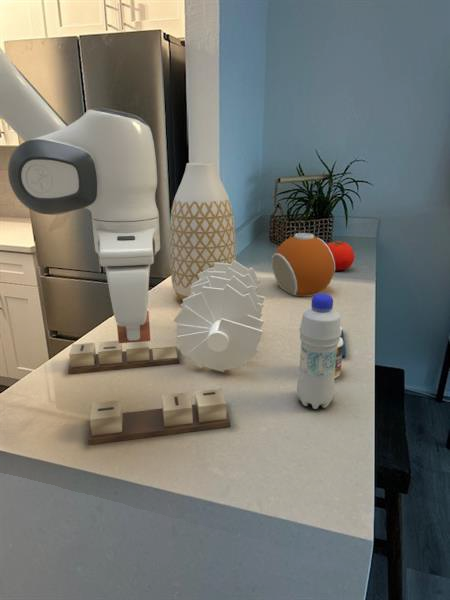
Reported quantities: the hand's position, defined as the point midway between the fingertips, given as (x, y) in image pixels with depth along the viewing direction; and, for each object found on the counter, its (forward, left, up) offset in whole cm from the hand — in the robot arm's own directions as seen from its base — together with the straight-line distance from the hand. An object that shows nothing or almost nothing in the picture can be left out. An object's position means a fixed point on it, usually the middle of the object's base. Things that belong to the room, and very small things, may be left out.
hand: (133, 330), depth 64 cm
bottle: (+30, +1, -17) cm, 35 cm away
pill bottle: (+36, +10, -17) cm, 41 cm away
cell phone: (+42, +22, -17) cm, 51 cm away
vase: (+19, +58, -17) cm, 63 cm away
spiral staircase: (+18, +24, -17) cm, 35 cm away
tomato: (+70, +79, -17) cm, 107 cm away
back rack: (-3, +23, -17) cm, 29 cm away
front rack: (+3, 0, -17) cm, 17 cm away
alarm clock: (+50, +60, -17) cm, 80 cm away
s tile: (0, 0, -1) cm, 1 cm away
